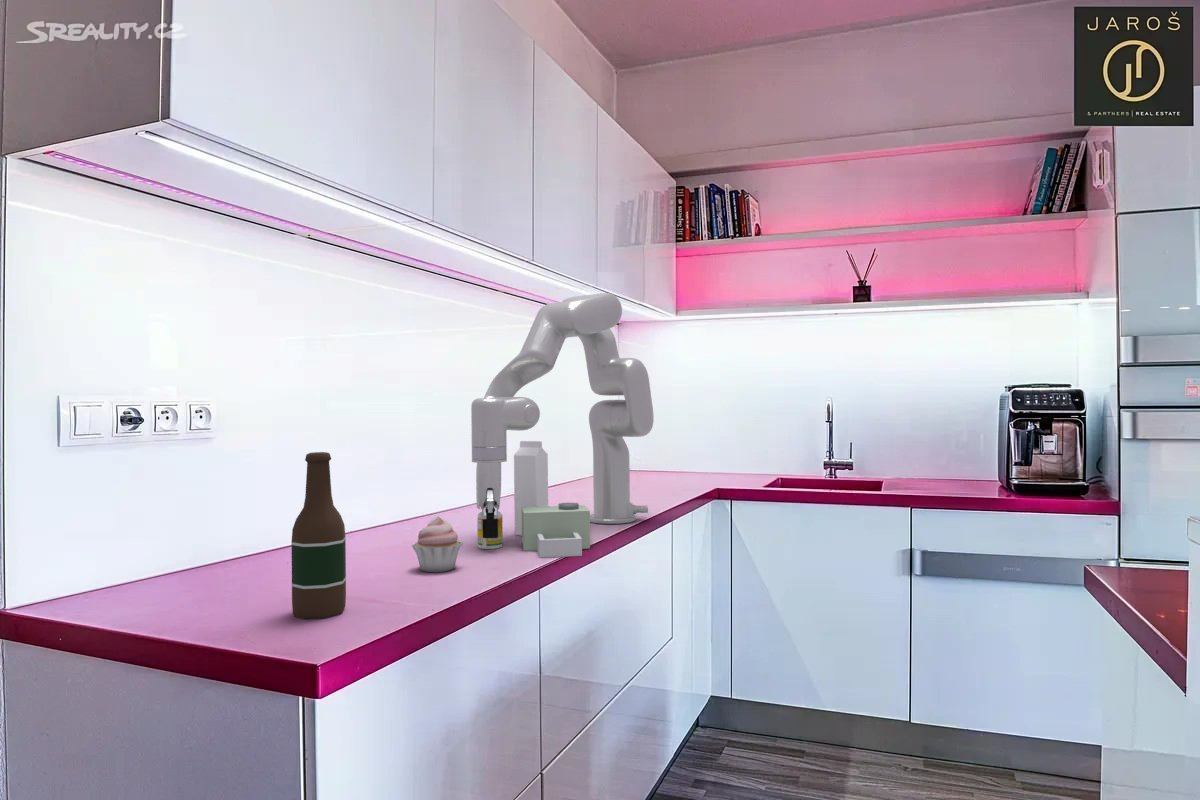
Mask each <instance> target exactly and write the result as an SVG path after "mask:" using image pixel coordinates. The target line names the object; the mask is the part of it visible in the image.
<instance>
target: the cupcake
mask: <svg viewBox="0 0 1200 800" xmlns="http://www.w3.org/2000/svg"><path fill="white" fill-rule="evenodd" d="M417 537H418V538H417V541H416V542H415V543H414V544H411V547H412V548H413V550H414V552H415V554H416V557H417V560H418V564H419V568H420V570H421V571H423V572H426V573H443V572H448V571H452V570H454V569H455V567H456V563H457V558H458V554H459V551H460V550H461V548H462V545H463V544H464V542H463V541H460V540H458V539H459V538H458V537H459V536H458V534H457V532H456V531H455V530H454V529H453V526H452V525H451V524H450V522H448V521H447V520H445V519H443V518H442V517H440V516H439V515H437V516H436V517H434V518H433V519H431V520H430V521H429V522H428V524H427V526H425V527H423V528H421V529H420V530H419V532H418V536H417Z"/></svg>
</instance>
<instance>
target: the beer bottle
mask: <svg viewBox="0 0 1200 800" xmlns="http://www.w3.org/2000/svg"><path fill="white" fill-rule="evenodd" d="M331 460H332V457H331V453H330V452H326V451H325V452H324V451H318V452H317V451H316V452H309V453H306V454H305V458H304V461H305V462H306V476H305V478H306V479H305V496H304V502H303V508H302V509H301V511H300V513H299V514H298V516H297V517H296V518H295V521H294V524H293V527H292V531H291V533H292V534H291V607H292V615H293V616H294V617H296V618H298V617H300V618H299V619H302V618H303V620H315V619H317V618H318V619H319V618H320V619H327V618H330V617H331V618H332V617H334V615H335V616H338V614H339V615H341V614H342V613H343V612H344V610H345V607H346V604H347V603H346V602H347V601H346V600H347V582H346V581H347V569H346V568H347V566H346V565H347V560H346V558H347V557H346V555H347V551H346V550H347V549H346V541H347V540H346V539H347V538H346V537H347V536H346V527H345V522H344V520H343V518H342V515H341V513H340V512H339V511H338V509H337V508H336V507H335V505H334V500H333V494H332V483H331V482H332V481H331V467H330V461H331ZM318 619H317V620H318Z"/></svg>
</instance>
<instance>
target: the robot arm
mask: <svg viewBox="0 0 1200 800" xmlns="http://www.w3.org/2000/svg"><path fill="white" fill-rule="evenodd" d="M622 314H623V306H622V304H621V301H620V300H619V298H618V297H617V296H616V295H614V294H612V293H609V292H604V293H602V292H601V293H595V294H587V295H586V294H584V295H576V296H572V297H568V298H565V299H564V300H562V301H558V302H552V303H548V304H545V305H543V306H542V307H541V308H540V309H539V310H538V311H537V313H536V315H535V318H534V320H533V322H532V324H531V327H530V329H529V332H528V334H527V336H526V338H525V341H524V342H523V345H522V348H521V350H520V351H519V353H518V354H517V355H516V356H515V357H514V358H513V359H511V361H509V362H508V364H506V365H505V366H504V367H503V368H502V369H501V370H500V371H499V372H498V373H497V374H496V375H495V377H494V378H493V379H492V381H490V384H489V386H488V388H487V390H486V392H485V395H484V397H480V398H479V397H477V398H475V399H474V400H473V401H472V402H471V405H470V407H471V408H470V409H471V410H470V411H471V413H470V415H471V416H470V417H471V418H470V419H471V463H473V464H474V463H476V469H475V470H476V473H475V476H476V477H475V479H476V480H475V482H476V487H475V488H476V491H475V492H476V493H475V495H476V508H477V509H478V510H481V507H483V509H484V519H482V520H483V538H497V537H498V519H497V508H499V507H500V504H501V495H502V463H505V462H506V463H507V462H508V461H507V460H508V458H507V457H508V454H507V452H508V448H507V446H508V445H507V444H508V443H507V441H508V439H507V431H519V432H520V431H528V430H530V429H532V428H534V427H535V426H536V425H537V424H538V422H539V420H540V415H541V412H540V408H539V405H538V403H536V401H535V400H533V399H531V398H529V397H524V396H515V395H516V394H517V393H518V392H519V391H520V390H521V389H522V388H523V387H524V386H526V385H528V384H530V383H531V382H534V381H536V380H538V379H540V378H541V377H543V376H545V375H547V374H548V373H550V372H551V371H552V370H553V369H554V367H555V365H556V363H557V359H558V357H559V355H560V352H561V350H562V348H563V345H564V343H565V342H566V339H567V338H572V337H574V338H577V337H578V339H579V340H580V342H581V343H582V346H583V350H584V356H585V361H586V362H585V363H586V368H587V369H586V370H587V375H588V376H587V377H588V382H589V387H590V389H591V391H592V392H593V393H594V394H596V395H598V396H605V397H606V396H623V397H624V399H606V400H600V401H598V402H596V403H594V404H593V406H592V407H591V408H590V410H589V413H588V424H589V428H590V434H591V439H592V440H591V441H592V457H593V458H592V460H593V463H592V469H593V471H592V473H593V474H592V476H593V477H592V479H593V481H592V482H593V514H590V523H594V524H603V525H604V524H605V525H606V524H608V525H609V524H610V525H612V524H613V525H614V524H615V525H616V524H629V523H633V522H635V521H636V520H637V516H636V514H648V513H649V506H648V505H636V504H633V503H632V502H631V487H630V485H631V484H630V483H631V482H630V476H631V475H630V450H629V447H628V445H627V443H626V441H625V439H624V438H623V437H628V438H629V437H630V438H639V437H645V436H647V435H648V434H650V433H651V431H652V429H653V428H654V427H653V426H654V421H655V420H654V418H655V417H654V407H653V401H652V391H651V383H650V378H649V377H650V376H649V373H648V370H647V368H646V366H645V364H644V363H643V362H642V361H641V360H639V359H637V358H635V357H622V358H621V357H620V355H619V350H618V345H617V340H616V339H617V338H616V336H615V334H614V332H613V330H612V329H611V328H613V327H616V326H617V324H618V323H619V322H620V321H621V319H622ZM494 502H495V505H494ZM496 502H497V504H496ZM483 504H484V506H483ZM499 509H500V508H499Z"/></svg>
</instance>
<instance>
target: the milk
mask: <svg viewBox="0 0 1200 800" xmlns="http://www.w3.org/2000/svg"><path fill="white" fill-rule="evenodd" d="M548 457H549V455H548V452H547V451H546V450H545V449H543V442H542V441H537V440H536V441H535V440H528V441H527V440H521V441H519V448H518V449H517V451H516V452H515V453H514V455H513V479H514V481H513V486H514V487H513V488H514V490H513V492H514V496H513V497H514V501H513V502H514V504H513V505H514V506H513V507H514V509H513V510H514V535H515V536H522V507H543V506H549V461H548V460H549V458H548Z"/></svg>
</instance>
